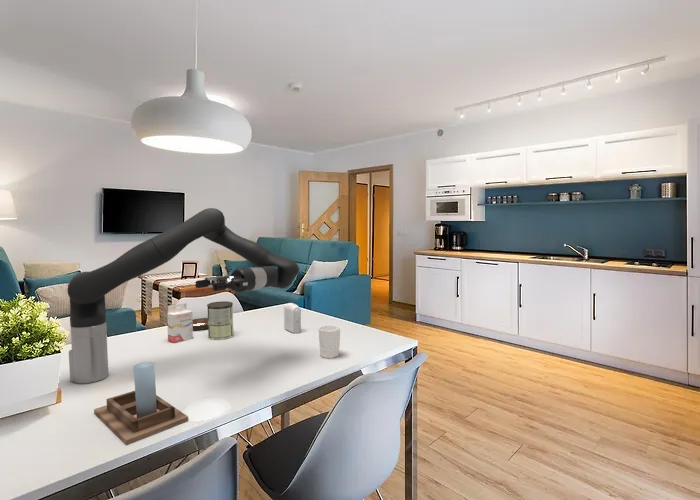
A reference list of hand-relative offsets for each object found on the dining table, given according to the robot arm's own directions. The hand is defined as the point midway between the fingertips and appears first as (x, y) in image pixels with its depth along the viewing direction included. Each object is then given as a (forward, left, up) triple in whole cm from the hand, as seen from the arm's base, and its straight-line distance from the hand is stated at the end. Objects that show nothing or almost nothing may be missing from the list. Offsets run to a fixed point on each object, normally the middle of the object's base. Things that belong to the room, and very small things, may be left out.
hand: (204, 286), depth 115 cm
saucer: (-29, +66, -30) cm, 78 cm away
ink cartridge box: (-29, +46, -30) cm, 62 cm away
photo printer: (+15, +60, -30) cm, 68 cm away
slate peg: (-7, -21, -29) cm, 36 cm away
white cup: (+34, +28, -30) cm, 53 cm away
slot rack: (-10, -18, -30) cm, 37 cm away
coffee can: (-14, +51, -30) cm, 60 cm away
